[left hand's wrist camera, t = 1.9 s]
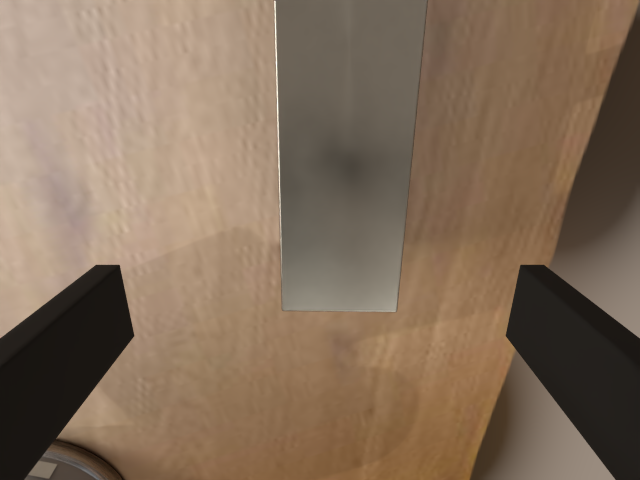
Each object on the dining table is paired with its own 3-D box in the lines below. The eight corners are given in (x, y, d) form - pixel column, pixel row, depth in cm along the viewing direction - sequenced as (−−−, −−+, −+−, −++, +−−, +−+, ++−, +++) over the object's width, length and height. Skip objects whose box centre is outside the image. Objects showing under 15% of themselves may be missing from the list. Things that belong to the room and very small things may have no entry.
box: (373, 246, 29) (397, 312, 20) (292, 245, 29) (281, 311, 20) (403, -192, 20) (469, -411, 11) (287, -194, 20) (263, -417, 11)
